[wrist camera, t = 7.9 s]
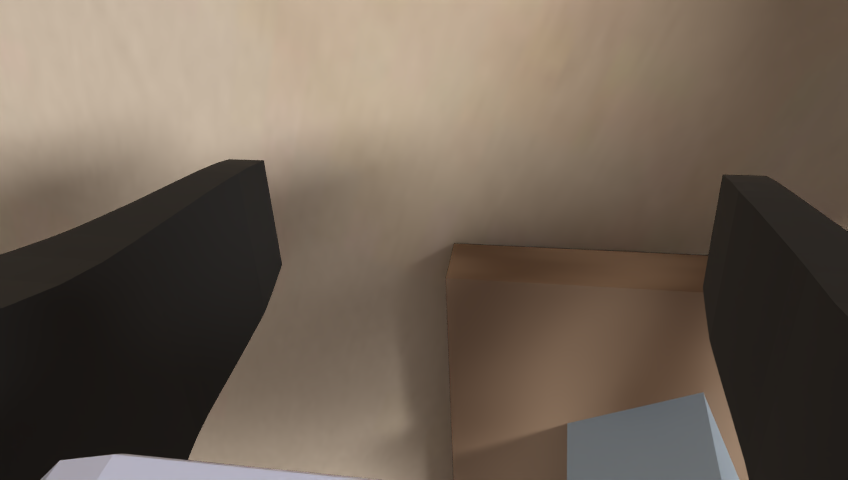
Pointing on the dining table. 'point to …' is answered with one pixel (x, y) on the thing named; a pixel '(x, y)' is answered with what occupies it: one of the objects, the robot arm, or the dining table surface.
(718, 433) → the slate block
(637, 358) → the walnut base
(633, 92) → the dining table surface
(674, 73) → the dining table surface
